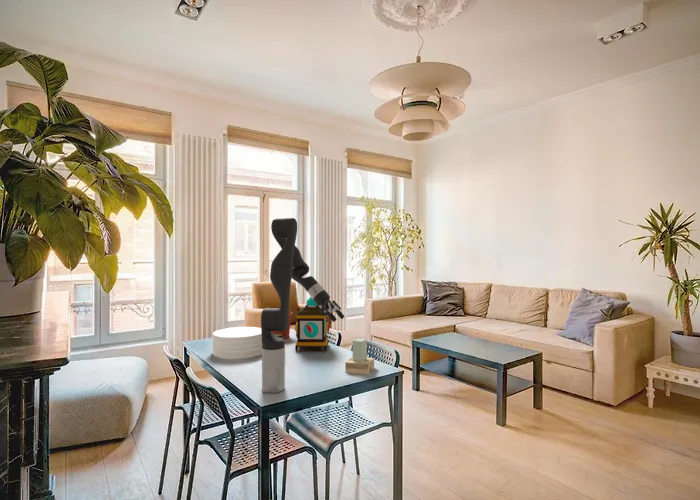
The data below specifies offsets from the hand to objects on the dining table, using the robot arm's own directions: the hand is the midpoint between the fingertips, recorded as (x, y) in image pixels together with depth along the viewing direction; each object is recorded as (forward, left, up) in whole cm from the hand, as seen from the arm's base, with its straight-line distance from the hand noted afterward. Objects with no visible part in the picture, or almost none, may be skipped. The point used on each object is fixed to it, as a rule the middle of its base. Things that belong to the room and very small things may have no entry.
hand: (339, 319), depth 193 cm
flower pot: (+59, +45, -23) cm, 78 cm away
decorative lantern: (+34, +19, -24) cm, 46 cm away
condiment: (+13, +35, -24) cm, 45 cm away
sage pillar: (-4, -10, -19) cm, 22 cm away
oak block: (-4, -10, -24) cm, 26 cm away
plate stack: (+22, +59, -24) cm, 67 cm away
